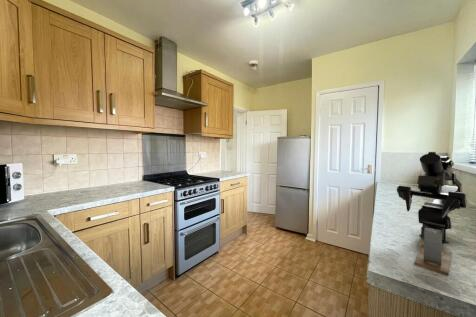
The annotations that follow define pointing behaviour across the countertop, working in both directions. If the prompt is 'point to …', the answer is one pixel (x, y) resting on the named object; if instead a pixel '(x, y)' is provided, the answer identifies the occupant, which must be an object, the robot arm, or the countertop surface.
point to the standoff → (433, 245)
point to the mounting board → (441, 269)
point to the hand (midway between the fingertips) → (423, 213)
